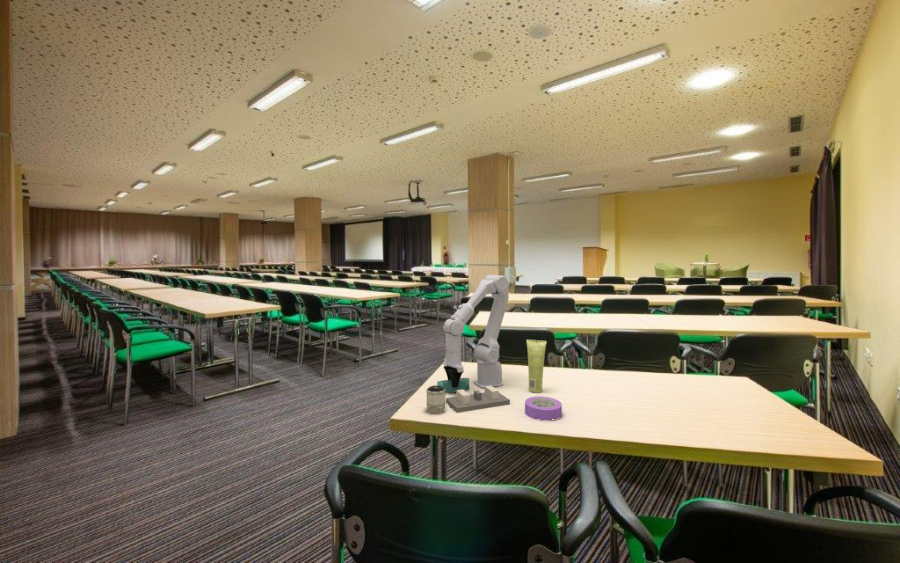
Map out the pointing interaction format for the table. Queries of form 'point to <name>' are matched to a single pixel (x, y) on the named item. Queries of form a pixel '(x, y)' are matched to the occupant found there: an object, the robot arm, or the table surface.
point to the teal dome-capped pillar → (449, 389)
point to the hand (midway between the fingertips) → (453, 385)
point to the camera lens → (435, 399)
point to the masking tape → (543, 408)
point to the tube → (535, 364)
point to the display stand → (477, 400)
